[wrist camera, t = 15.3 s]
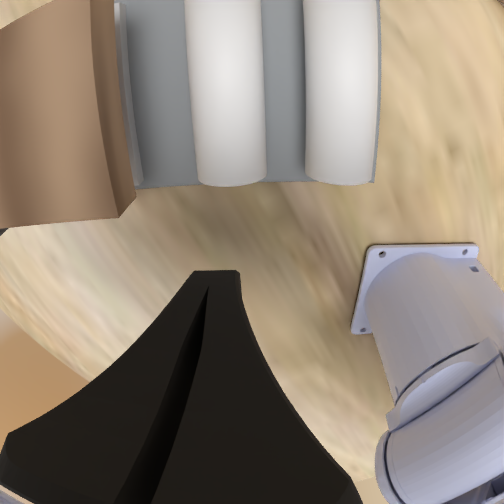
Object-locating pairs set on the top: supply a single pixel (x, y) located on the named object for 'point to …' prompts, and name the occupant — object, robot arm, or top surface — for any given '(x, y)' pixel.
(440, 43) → the top surface
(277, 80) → the roller bed
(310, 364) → the top surface
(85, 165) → the walnut slab
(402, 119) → the top surface
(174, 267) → the top surface
